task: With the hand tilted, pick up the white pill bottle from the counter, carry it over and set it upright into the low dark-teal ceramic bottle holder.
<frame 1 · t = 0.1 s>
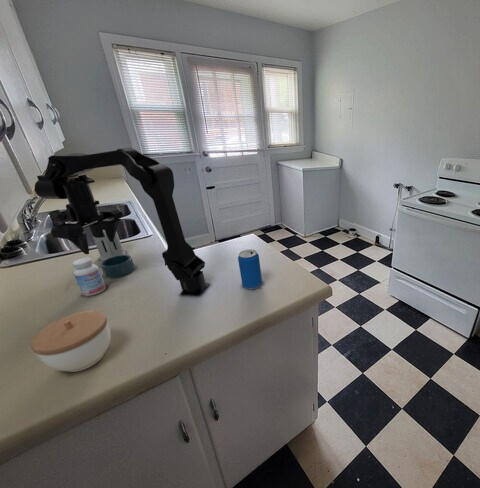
hand: (100, 247, 85), 15 cm above the countertop, tool pointing down, fingers open, 9 cm apart
beverage can: (252, 285, 91), on the countertop
lidded bowl: (86, 359, 63), on the countertop
glass holder: (114, 258, 111), on the countertop
bottle holder: (120, 271, 101), on the countertop
pill bottle: (95, 291, 89), on the countertop
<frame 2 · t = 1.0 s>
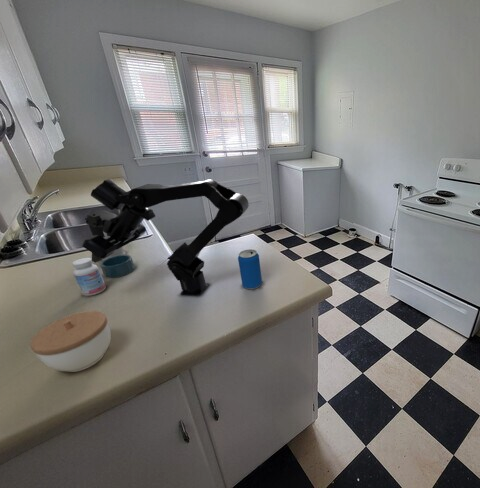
hand: (105, 254, 83), 13 cm above the countertop, tool tilted 45°, fingers open, 9 cm apart
nothing on the countertop moved.
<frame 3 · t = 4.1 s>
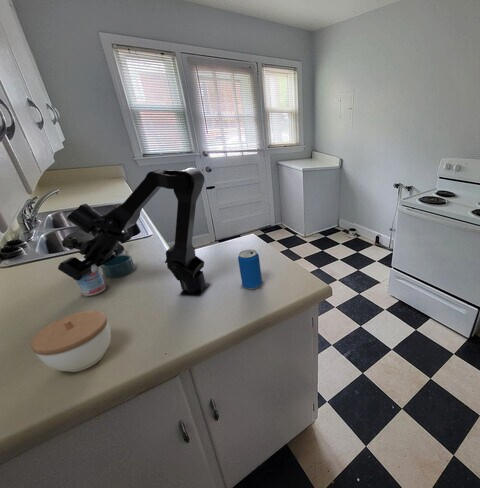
hand: (83, 273, 86), 7 cm above the countertop, tool tilted 45°, fingers closed on pill bottle, 6 cm apart
pill bottle: (95, 291, 89), on the countertop, touching gripper
everything else where it was.
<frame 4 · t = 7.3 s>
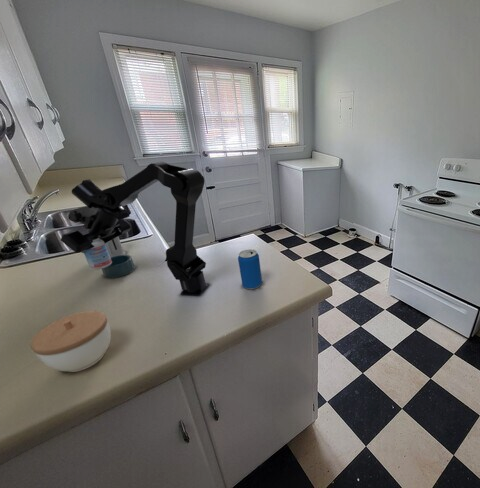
hand: (91, 247, 90), 12 cm above the countertop, tool tilted 45°, fingers closed on pill bottle, 6 cm apart
pill bottle: (101, 266, 93), point 6 cm above the countertop, touching gripper
everything else where it was.
when the fingers open (7 cm above the countertop, at t = 10.4 s): pill bottle stays where it is, resting on bottle holder.
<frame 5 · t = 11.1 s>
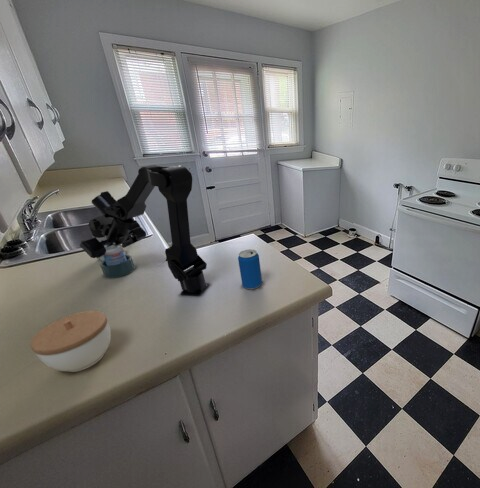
hand: (110, 252, 98), 8 cm above the countertop, tool tilted 45°, fingers open, 9 cm apart
pill bottle: (120, 270, 100), resting on bottle holder
everything else where it was.
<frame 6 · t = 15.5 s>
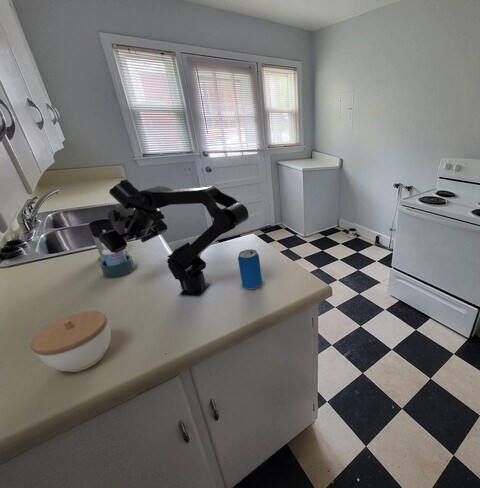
hand: (129, 246, 90), 13 cm above the countertop, tool tilted 45°, fingers open, 9 cm apart
nothing on the countertop moved.
at the end: pill bottle 0.2 cm off-centre in the bottle holder, point 0.4 cm above the bottle holder's base; pill bottle tilted 0°; the gripper is holding nothing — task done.
